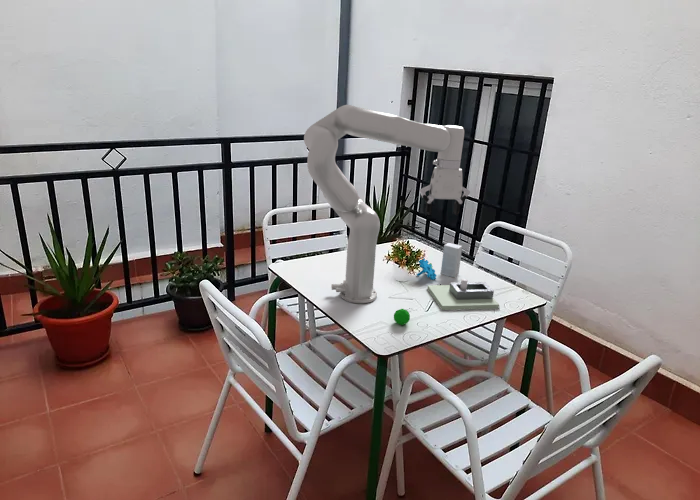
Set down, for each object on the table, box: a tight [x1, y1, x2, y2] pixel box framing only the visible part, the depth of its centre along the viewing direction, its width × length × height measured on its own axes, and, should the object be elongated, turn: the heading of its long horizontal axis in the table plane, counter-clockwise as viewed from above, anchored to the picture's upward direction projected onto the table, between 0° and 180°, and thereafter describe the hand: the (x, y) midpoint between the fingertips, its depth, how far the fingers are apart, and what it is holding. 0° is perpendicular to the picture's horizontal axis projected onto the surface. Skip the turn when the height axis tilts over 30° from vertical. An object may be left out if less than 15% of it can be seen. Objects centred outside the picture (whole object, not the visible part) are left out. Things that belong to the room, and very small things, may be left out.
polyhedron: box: [393, 308, 411, 326], centre depth 152 cm, size 5×5×5 cm
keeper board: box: [427, 278, 500, 311], centre depth 170 cm, size 20×16×7 cm
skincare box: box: [440, 242, 463, 278], centre depth 189 cm, size 6×4×12 cm
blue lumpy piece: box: [416, 257, 437, 281], centre depth 187 cm, size 11×6×10 cm
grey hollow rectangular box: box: [449, 281, 495, 300], centre depth 171 cm, size 13×7×3 cm, turn 99°
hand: (442, 214), depth 168 cm, fingers open, 9 cm apart
